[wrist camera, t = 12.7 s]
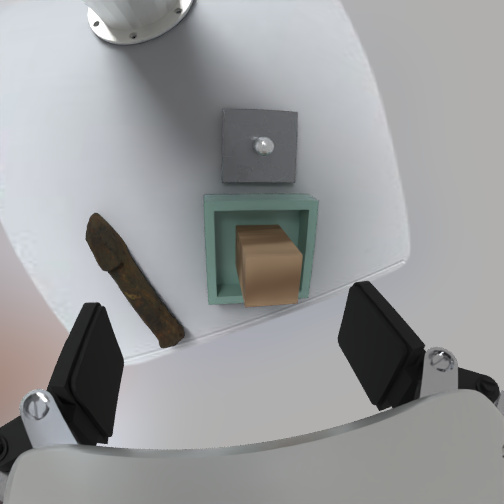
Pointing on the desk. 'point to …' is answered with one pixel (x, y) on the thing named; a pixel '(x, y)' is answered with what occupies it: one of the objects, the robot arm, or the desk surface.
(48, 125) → the desk surface
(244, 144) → the stud base
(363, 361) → the robot arm
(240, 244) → the brown wooden block
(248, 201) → the bin
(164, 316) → the hand tool
